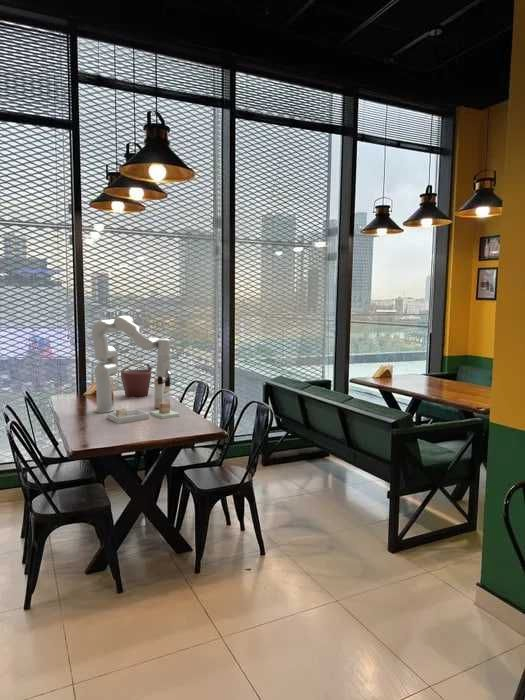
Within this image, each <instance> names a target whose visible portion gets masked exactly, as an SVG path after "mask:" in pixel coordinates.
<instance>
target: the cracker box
mask: <svg viewBox="0 0 525 700" xmlns="http://www.w3.org/2000/svg"><path fill="white" fill-rule="evenodd" d="M162 378H163V384H158V378H157V376H156V377H154V383H153V384H154V409H157V408H158V410H159V403H162V402H168V403H170V404H171V385H170V386H168V387H165V380H166V379H165V377H162Z"/></svg>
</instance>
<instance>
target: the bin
mask: <svg viewBox="0 0 525 700" xmlns="http://www.w3.org/2000/svg"><path fill="white" fill-rule="evenodd" d="M107 419H109V420H110V421H112V422H114V423H116V424H123V423H132V422H137V421H142V420H148V419H149V420H150V412H146V411H145V410H141V409H139V408H136V409H129V410H127V417H122V418H118V417H116V411H113V412H107Z"/></svg>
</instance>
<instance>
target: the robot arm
mask: <svg viewBox="0 0 525 700" xmlns="http://www.w3.org/2000/svg"><path fill="white" fill-rule="evenodd" d="M134 322H135V321H134V319H133V318H132V317H131V316H129V315H118V316H116V317H115V318H113V319H112V318H111V319H101V320H98V321H96V322H95V323H94V324H93V325H92V329H91V334H92V341H93V351H94V357H95V360H97V362H98V361H99V362H100V363H99V364H97V365H96V366H95V367H94V370H93V373H94V376H95V377H94V378H95V388H96V390H95V391H96V392H95V393H96V408H95V409H94V412H95V413H101V414H103V413H113V412H115V411H116V409H115V407H114V406H113V394H112V393H113V392H112V391H113V390H112V381H111V378H110V377H113V376H114V375H116V374H118V372H119V371H118V370H119V361H118V354H117V350H116V348H115V347H114V346H112V345H108V339H107V336H106V335H105V334H107V333H115V332H119V331H120V332H122V333H124V334H126V335H127V336H128V337H130V338H131V340H132V342H133V343H134V344H135V345H136V346H138V347H139V348H141V349H142V350H145V351H147V352H148V351H149V352H150V351H154V350H157V362H156V375H157V376H156V377H157V378H158V384H163V378H162V377H165V379H166V380H165V387H168V386H170V387H171V378H172V373H171V363H170V361H171V350H170V349H171V347H170V345H171V344H170V342H171V341H170V339H169V338H160V337H159V338H158V337H150V338H148V337H146V336H145V335H143V334H142V333H141V332H140V331H141V327H140V325H139V326H138V325H137V324H136V323H134ZM101 362H102V363H101Z"/></svg>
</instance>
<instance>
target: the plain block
mask: <svg viewBox="0 0 525 700" xmlns="http://www.w3.org/2000/svg"><path fill="white" fill-rule="evenodd" d="M127 411H128V410H127V409H126V408H117V409H115V412H116V417H118V418H122V417H127Z"/></svg>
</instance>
